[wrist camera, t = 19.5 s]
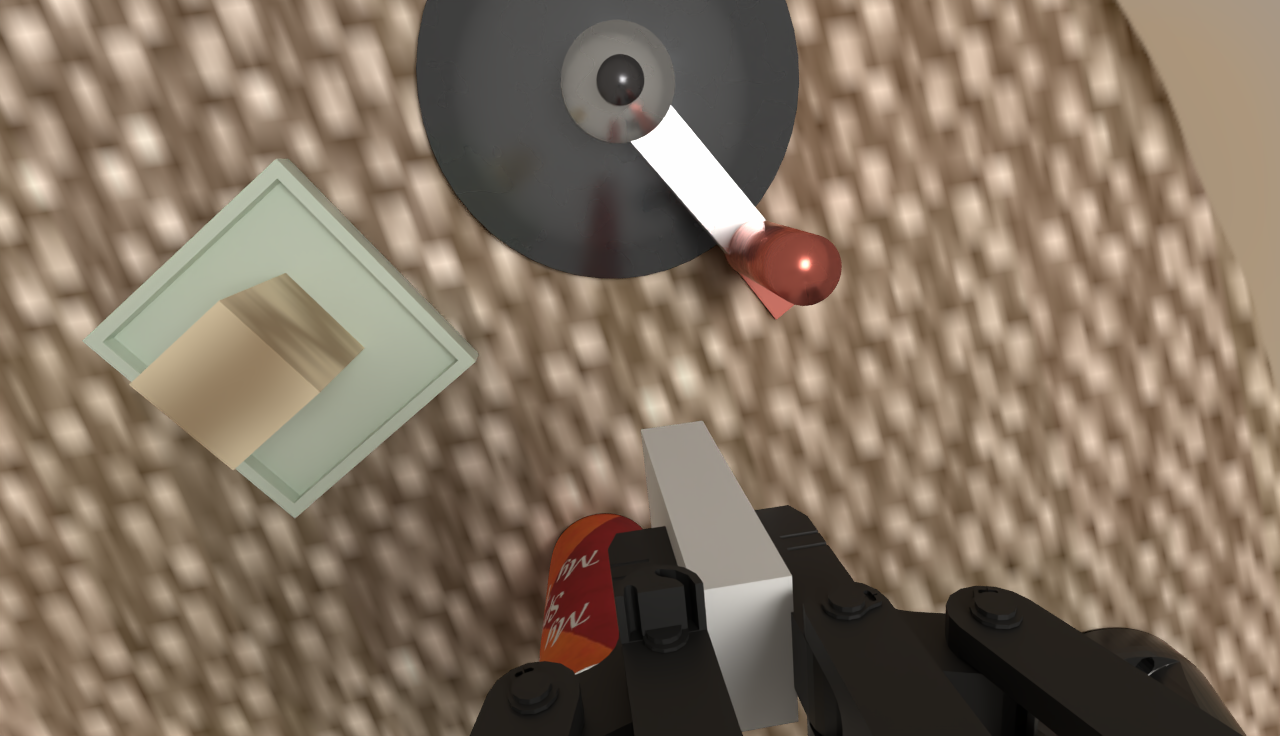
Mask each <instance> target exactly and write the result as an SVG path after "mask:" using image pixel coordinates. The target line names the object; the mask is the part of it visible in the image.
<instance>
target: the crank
mask: <svg viewBox="0 0 1280 736" xmlns="http://www.w3.org/2000/svg"><path fill="white" fill-rule="evenodd" d="M616 54H625V55H628V56H630V57H632V58H634V59H635V60H636V61H637V62H638V63H639V64H640V66H641V68H642V70H643V73H644V87H643V90H642V92H641V94H640V95H639V97H638V98H637V99H636V100H635V101H633V102H632V103H630V104H628V105H626V106H613V105H611V104H609V103H607V102H606V101H605V100H604V99H603V98H602V97H601V96H600V94H599V92H598V90H597V86H596V77H597V73H598V70H599V68H600V66H601V64H602V63H603V62H604V61H605V60H606V59H607V58H609V57H610V56H613V55H616ZM560 85H561V96H562V101H563V104H564V107H565V109H566V112H567V114H568V115H569V117H570V119H571V120H572V122H573V123H574V124H575V125H576V127H577V128H578V129H579V130H581V131H582V132H583V133H584V134H586V135H587V136H589V137H591V138H592V139H595V140H597V141H600V142H604V143H609V144H621V143H627V142H629V143H630V144H631V145H632V147H633V148H634V149H635V150H636V151H637V152H638V154H639V155H640V156H641V157H642V158H643V159H644V160H645V162H646V163H647V164H648V165H649V166H650V167H651V169H652V170H653V171H654V172H655V173H656V174H657V175H658V177H659V178H660V179H661V180H662V181H663V182H664V184H665V185H666V186H667V187H668V188H669V189H670V190H671V192H672V193H673V194H674V195H675V196H676V197H677V199H678V200H679V201H680V202H681V203H682V204H683V206H684V207H685V208H686V209H687V210H688V211H689V212H690V214H691V215H692V216H693V217H694V218H695V219H696V221H697V222H698V223H699V224H700V225H701V226H702V227H703V229H704V230H705V231H706V232H707V233H708V234H709V236H710V237H711V238H712V239H713V240H714V241H715V242H716V244H717V245H718V246H719V247H720V248H721V249H722V251H723V252H724V253H725V257H726V260H727V262H728V263H729V265H730V266H731V267H732V268H733V269H734V270H736V271H737V272H739V273H741V274H742V275H744V276H746V277H747V278H749V279H751V280H752V281H754V282H756V283H758V284H759V285H761V286H763V287H764V288H766V289H768V290H769V291H771V292H773V293H774V294H776V295H778V296H779V297H781V298H783V299H784V300H786V301H788V302H790V303H792V304H795V305H800V306H808V305H813V304H816V303H818V302H821V301H822V300H824V299H825V298H827V297H828V296H829V295H830V294H831V293H832V292H833V290H834V289H835V287H836V286H837V284H838V282H839V279H840V275H841V268H842V266H841V258H840V255H839V253H838V251H837V249H836V247H835V246H834V245H833V244H832V243H831V242H830V241H829V240H828V239H826V238H824V237H822V236H819V235H815V234H812V233H808V232H805V231H801V230H797V229H794V228H790V227H787V226H783V225H779V224H776V223H772V222H769V221H766V220H765V219H764V217H763V216H762V215H761V214H760V213H759V211H758V210H757V209H756V208H755V206H754V205H753V204H752V203H751V202H750V200H749V199H748V198H747V197H746V196H745V194H744V193H743V192H742V191H741V190H740V188H739V187H738V186H737V185H736V184H735V182H734V181H733V180H732V179H731V177H730V176H729V175H728V174H727V173H726V171H725V170H724V169H723V168H722V167H721V165H720V164H719V163H718V162H717V161H716V159H715V158H714V157H713V156H712V155H711V153H710V152H709V151H708V150H707V148H706V147H705V146H704V145H703V144H702V142H701V141H700V140H699V139H698V138H697V136H696V135H695V134H694V133H693V132H692V130H691V129H690V128H689V127H688V126H687V124H686V123H685V122H684V121H683V119H682V118H681V117H680V116H679V115H678V113H677V112H676V111H675V110H674V109H673V107H672V106H671V104H672V101H673V96H674V90H675V74H674V68H673V64H672V61H671V58H670V56H669V54H668V52H667V50H666V48H665V47H664V45H663V44H662V42H661V41H660V40H659V39H658V38H657V37H656V36H655V35H654V34H653V33H652V32H651V31H649V30H648V29H646V28H645V27H643V26H641V25H639V24H637V23H634V22H631V21H626V20H608V21H603V22H600V23H597V24H595V25H593V26H591V27H589V28H588V29H586V30H585V31H583V32H582V33H581V34H580V35H579V36H578V37H577V38H576V39H575V40H574V42H573V43H572V45H571V46H570V48H569V50H568V52H567V54H566V56H565V59H564V62H563V66H562V72H561V84H560Z"/></svg>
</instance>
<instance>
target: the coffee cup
mask: <svg viewBox="0 0 1280 736" xmlns="http://www.w3.org/2000/svg"><path fill="white" fill-rule="evenodd" d="M636 530H642V528H641V527H640V526H639V525H638V524H637V523H635V522H634V521H632V520H630V519H628V518H626V517H623V516H620V515H616V514H595V515H591V516H587V517H585V518H582V519H580V520H578V521H576V522H575V523H573V524H572V525H571V526H569V527H568V528H567V529H566V530H565V531H564V532H563V533H562V535H561V536H560V537H559V539H558V541H557V543H556V545H555V548H554V550H553V554H552V559H551V564H550V571H549V578H548V587H547V595H546V603H545V612H544V621H543V630H542V639H541V648H540V657H539V662H541V661H548V662H555V663H561V664H563V665H564V666H566V667H568V668H570V669H571V670H573V671H574V673H575V675H576V674H578V673H580V672H583V671H585V670H587V669H589V668H591V667H593V666H595V665H597V664H598V663H600V662H601V661H602V660H604V659H605V658H606V657H607V656H608V655H609V654H610V653H611V652H612V650H613V649H614V648H615V646H616V643H617V641H618V639H619V630H618V623H617V615H616V608H615V600H614V593H613V585H612V578H611V570H610V563H609V555H608V548H609V546H610V544H611V542H612V540H613V538H614V536H615V535H616V533H623V532H629V531H636Z"/></svg>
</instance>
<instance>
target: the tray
mask: <svg viewBox="0 0 1280 736" xmlns="http://www.w3.org/2000/svg"><path fill="white" fill-rule="evenodd" d="M284 273H287V274H288V275H289V276H290V277H291V278H292V279H293V280H294V281H295V282H296V283H297V284H298V285H299V286H300V287H301V288H302V289H303V290H304V291H305V292H307V293H308V294H309V295H310V296H311V297H312V298H313V299H314V300H315V301H316V302H317V303H318V304H319V305H320V306H321V307H322V308H323V309H324V310H325V311H326V312H328V313H329V314H330V315H331V316H332V317H333V318H334V319H335V320H336V321H337V322H338V323H339V324H340V325H341V326H342V327H343V328H344V329H345V330H346V331H348V332H349V333H350V334H351V335H352V336H353V337H354V338H355V339H356V340H357V341H358V342H359V343H360V344H361V345H362V346H363V347H364V349H363V350H362V351H361V352H360V353H359V354H358V355H357V356H356V357H355V358H354V359H353V360H352V361H351V362H350V363H349V364H348V365H347V366H346V367H345V368H344V369H343V370H342V371H341V372H340V373H339V374H338V375H337V376H336V377H335V378H334V379H333V380H332V381H331V382H330V383H329V384H328V385H327V386H326V387H325V388H324V389H323V390H322V391H321V392H320V393H319V394H318V395H317V396H315V397H314V398H313V399H312V400H311V401H310V402H309V403H308V404H307V405H305V406H304V407H303V408H302V409H301V410H300V411H299V412H298V413H297V414H295V415H294V416H293V417H292V418H291V419H290V420H289V421H288V422H287V423H285V424H284V425H283V426H282V427H281V428H280V429H279V430H278V431H276V432H275V433H274V434H273V435H272V436H271V437H270V438H269V439H268V440H266V441H265V442H264V443H263V444H262V445H261V446H260V447H259V448H258V449H256V450H255V451H254V452H253V453H252V454H251V455H250V456H249V457H248V458H246V459H245V460H244V461H243V462H242V463H241V464H240V465H239V466H238V467H236V468H235V469H236V470H237V471H239V472H240V473H241V474H242V475H243V476H245V477H246V478H247V479H248V480H249V481H251V482H252V483H253V484H254V485H255V486H257V487H258V488H259V489H260V490H261V491H263V492H264V493H265V494H266V495H267V496H269V497H270V498H271V499H272V500H273V501H275V502H276V503H277V504H278V505H279V506H281V507H282V508H283V509H284V510H285V511H287V512H288V513H289V514H290V515H291V516H293V517H294V518H296V517H297V516H298V515H299V514H301V513H302V512H303V511H304V510H305V509H306V508H308V507H309V506H310V505H311V504H312V503H313V502H314V501H316V500H317V499H318V498H319V497H320V496H321V495H323V494H324V493H325V492H326V491H327V490H328V489H329V488H331V487H332V486H333V485H334V484H335V483H336V482H338V481H339V480H340V479H341V478H342V477H343V476H344V475H346V474H347V473H348V472H349V471H350V470H351V469H353V468H354V467H355V466H356V465H357V464H358V463H359V462H361V461H362V460H363V459H364V458H365V457H366V456H367V455H369V454H370V453H371V452H372V451H373V450H374V449H376V448H377V447H378V446H379V445H380V444H381V443H382V442H384V441H385V440H386V439H387V438H388V437H389V436H391V435H392V434H393V433H394V432H395V431H396V430H397V429H399V428H400V427H401V426H402V425H403V424H404V423H406V422H407V421H408V420H409V419H410V418H411V417H412V416H414V415H415V414H416V413H417V412H418V411H419V410H421V409H422V408H423V407H424V406H425V405H426V404H427V403H429V402H430V401H431V400H432V399H433V398H434V397H435V396H437V395H438V394H439V393H440V392H441V391H442V390H444V389H445V388H446V387H447V386H448V385H449V384H450V383H452V382H453V381H454V380H455V379H456V378H457V377H459V376H460V375H461V374H462V373H463V372H464V371H465V370H467V369H468V368H469V367H470V366H471V365H472V364H474V363H475V362H476V360H477V357H478V355H479V353H478V352H477V351H476V350H475V349H474V348H473V347H472V346H471V345H470V344H469V343H468V342H467V341H466V340H465V339H464V338H463V337H462V336H461V335H460V334H459V333H458V332H457V331H456V330H455V329H454V328H453V327H452V326H451V325H450V324H449V323H448V322H447V320H446V319H445V318H444V317H443V316H442V315H441V314H440V313H439V312H438V311H437V310H436V309H435V308H434V307H433V306H432V305H431V304H430V303H429V302H428V301H427V300H426V299H425V298H424V297H423V296H422V295H421V294H420V293H419V292H418V291H417V290H416V289H415V288H414V287H413V286H412V285H411V284H410V283H409V282H408V281H407V280H406V279H405V278H404V277H403V275H402V274H401V273H400V272H399V271H398V270H397V269H396V268H395V267H394V266H393V265H392V264H391V263H390V262H389V261H388V260H387V259H386V258H385V257H384V256H383V255H382V254H381V253H380V252H379V251H378V250H377V249H376V248H375V247H374V246H373V245H372V244H371V243H370V242H369V241H368V240H367V239H366V238H365V237H364V236H363V235H362V234H361V233H360V232H359V230H358V229H357V228H356V227H355V226H354V225H353V224H352V223H351V222H350V221H349V220H348V219H347V218H346V217H345V216H344V215H343V214H342V213H341V212H340V211H339V210H338V209H337V208H336V207H335V206H334V205H333V204H332V203H331V202H330V201H329V200H328V199H327V198H326V197H325V196H324V195H323V194H322V193H321V192H320V191H319V190H318V189H317V188H316V186H315V185H314V184H313V183H312V182H311V181H310V180H309V179H308V178H307V177H306V176H305V175H304V174H303V173H302V172H301V171H300V170H299V169H298V168H297V167H296V166H295V165H294V164H293V163H292V162H291V161H290V160H289V159H275V160H274V161H273V162H272V163H271V164H270V165H269V166H268V167H267V168H266V169H265V170H264V171H263V172H262V173H261V174H259V175H258V176H257V177H256V178H255V179H254V180H253V181H252V182H251V183H250V184H249V185H248V186H247V187H246V188H245V189H244V190H242V191H241V192H240V193H239V194H238V195H237V196H236V197H235V198H234V199H233V200H232V201H231V202H230V203H229V204H228V205H226V206H225V207H224V208H223V209H222V210H221V211H220V212H219V213H218V214H217V215H216V216H215V217H214V218H213V219H212V220H211V221H209V222H208V223H207V224H206V225H205V226H204V227H203V228H202V229H201V230H200V231H199V232H198V233H197V234H196V235H195V236H193V237H192V238H191V239H190V240H189V241H188V242H187V243H186V244H185V245H184V246H183V247H182V248H181V249H180V250H179V251H178V252H176V253H175V254H174V255H173V256H172V257H171V258H170V259H169V260H168V261H167V262H166V263H165V264H164V265H163V266H162V267H160V268H159V269H158V270H157V271H156V272H155V273H154V274H153V275H152V276H151V277H150V278H149V279H148V280H147V281H146V282H145V283H143V284H142V285H141V286H140V287H139V288H138V289H137V290H136V291H135V292H134V293H133V294H132V295H131V296H130V297H129V298H127V299H126V300H125V301H124V302H123V303H122V304H121V305H120V306H119V307H118V308H117V309H116V310H115V311H114V312H113V313H112V314H110V315H109V316H108V317H107V318H106V319H105V320H104V321H103V322H102V323H101V324H100V325H99V326H98V327H97V328H96V329H94V330H93V331H92V332H91V333H90V334H89V335H88V336H87V337H86V338H85V339H84V340H83V342H84V343H85V344H86V345H88V346H89V347H90V348H91V349H92V350H94V351H95V352H96V353H97V354H98V355H100V356H101V357H102V358H103V359H104V360H106V361H107V362H108V363H109V364H110V365H112V366H113V367H114V368H115V369H116V370H118V371H119V372H120V373H121V374H122V375H124V376H125V377H126V378H127V379H128V380H130V381H131V382H132V381H133V380H135V379H136V378H137V377H138V376H139V375H140V374H141V373H142V372H143V371H144V370H145V369H146V368H147V367H148V366H149V365H151V364H152V363H153V362H154V361H155V360H156V359H157V358H158V357H159V356H160V355H161V354H162V353H163V352H164V351H166V350H167V349H168V348H169V347H170V346H171V345H172V344H173V343H174V342H175V341H176V340H177V339H178V338H179V337H181V336H182V335H183V334H184V333H185V332H186V331H187V330H188V329H189V328H190V327H191V326H192V325H193V324H194V323H196V322H197V321H198V320H199V319H200V318H201V317H202V316H203V315H204V314H205V313H206V312H207V311H208V310H209V309H210V308H212V307H213V306H214V305H215V304H216V303H217V302H218V301H219V300H222V299H224V298H226V297H229V296H231V295H234V294H236V293H238V292H241V291H243V290H246V289H248V288H251V287H253V286H255V285H258V284H260V283H263V282H265V281H267V280H270V279H272V278H275V277H277V276H279V275H282V274H284Z"/></svg>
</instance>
